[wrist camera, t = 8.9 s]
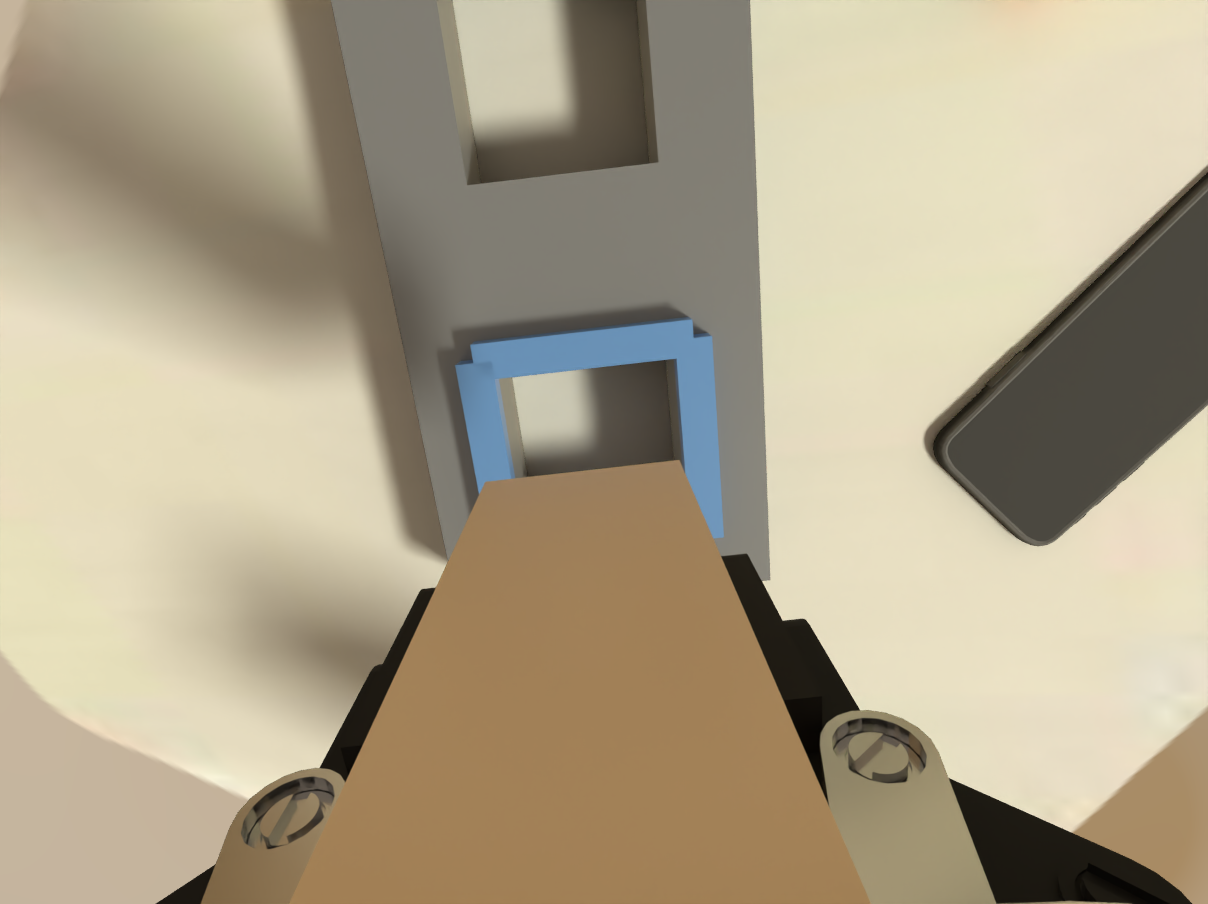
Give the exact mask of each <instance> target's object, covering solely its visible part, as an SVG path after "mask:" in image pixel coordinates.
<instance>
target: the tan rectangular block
mask: <svg viewBox="0 0 1208 904" xmlns="http://www.w3.org/2000/svg"><path fill="white" fill-rule="evenodd" d="M289 904H871V903H870V900H869V898H868V896H867V893H866V891H865V889H864V886H863V884H862V882H861V880H860V877H859V875H858V873H857V870H856V868H855V866H854V863H853V861H852V859H851V856H850V854H849V852H848V849H847V847H846V845H845V842H844V840H843V838H842V836H841V833H840V831H839V829H838V826H837V824H836V822H835V819H834V817H833V815H832V812H831V810H830V808H829V805H828V803H827V801H826V798H825V796H824V794H823V791H822V789H821V787H820V785H819V782H818V780H817V778H816V775H815V773H814V771H813V768H812V766H811V764H810V761H809V759H808V757H807V754H806V752H805V750H804V747H803V745H802V743H801V741H800V738H799V736H798V734H797V731H796V729H795V727H794V724H793V722H792V720H791V717H790V715H789V713H788V710H787V708H786V706H785V703H784V701H783V699H782V697H781V694H780V692H779V690H778V687H777V685H776V683H775V680H774V678H773V676H772V673H771V671H770V669H769V666H768V664H767V662H766V659H765V657H764V655H763V653H762V650H761V648H760V646H759V643H758V641H757V639H756V636H755V634H754V632H753V629H752V627H751V625H750V622H749V620H748V618H747V615H746V613H745V611H744V608H743V606H742V604H741V602H740V599H739V597H738V595H737V592H736V590H735V588H734V585H733V583H732V581H731V578H730V576H729V574H728V571H727V569H726V567H725V564H724V562H723V560H722V558H721V555H720V553H719V551H718V548H717V546H716V544H715V541H714V539H713V537H712V534H711V532H710V530H709V527H708V525H707V523H706V520H705V518H704V516H703V514H702V511H701V509H700V507H699V504H698V502H697V500H696V497H695V495H694V493H693V490H692V488H691V486H690V483H689V481H688V479H687V476H686V474H685V472H684V470H683V467H682V465H681V463H680V460H674V461H665V462H656V463H647V464H638V465H629V466H621V467H612V468H603V469H594V470H585V471H576V472H567V473H559V474H550V475H541V476H532V477H523V478H514V479H506V480H497V481H488V482H485V483H484V485H483V488H482V490H481V492H480V494H479V496H478V498H477V501H476V503H475V505H474V507H473V509H472V511H471V513H470V516H469V518H468V520H467V522H466V524H465V526H464V528H463V531H462V533H461V535H460V537H459V539H458V541H457V544H456V546H455V548H454V550H453V552H452V554H451V556H450V559H449V561H448V563H447V565H446V567H445V569H444V571H443V574H442V576H441V578H440V580H439V582H438V584H437V587H436V589H435V591H434V593H433V595H432V597H431V599H430V602H429V604H428V606H427V608H426V610H425V612H424V614H423V617H422V619H421V621H420V623H419V625H418V627H417V630H416V632H415V634H414V636H413V638H412V640H411V642H410V645H409V647H408V649H407V651H406V653H405V655H404V657H403V660H402V662H401V664H400V666H399V668H398V670H397V673H396V675H395V677H394V679H393V681H392V683H391V685H390V688H389V690H388V692H387V694H386V696H385V698H384V701H383V703H382V705H381V707H380V709H379V711H378V713H377V716H376V718H375V720H374V722H373V724H372V726H371V728H370V731H369V733H368V735H367V737H366V739H365V741H364V744H363V746H362V748H361V750H360V752H359V754H358V756H357V759H356V761H355V763H354V765H353V767H352V769H351V771H350V774H349V776H348V778H347V780H346V782H345V784H344V787H343V789H342V791H341V793H340V795H339V797H338V799H337V802H336V804H335V806H334V808H333V810H332V812H331V814H330V817H329V819H328V821H327V823H326V825H325V827H324V830H323V832H322V834H321V836H320V838H319V840H318V842H317V845H316V847H315V849H314V851H313V853H312V855H311V857H310V860H309V862H308V864H307V866H306V868H305V870H304V873H303V875H302V877H301V879H300V881H299V883H298V885H297V888H296V890H295V892H294V894H293V896H292V898H291V901H290V903H289Z"/></svg>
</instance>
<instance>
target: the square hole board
mask: <svg viewBox="0 0 1208 904" xmlns="http://www.w3.org/2000/svg"><path fill="white" fill-rule="evenodd" d="M331 3H332V8H333V13H334V18H335V22H336V27H337V32H338V37H339V42H340V46H341V51H342V56H343V61H344V65H345V70H346V75H347V80H348V85H349V89H350V94H351V99H352V104H353V109H354V113H355V118H356V123H357V128H358V133H359V137H360V142H361V147H362V152H363V157H364V161H365V166H366V171H367V176H368V181H369V185H370V190H371V195H372V200H373V205H374V209H375V214H376V219H377V224H378V228H379V233H380V238H381V243H382V248H383V252H384V257H385V262H386V267H387V272H388V276H389V281H390V286H391V291H392V296H393V300H394V305H395V310H396V315H397V320H398V324H399V329H400V334H401V339H402V344H403V348H404V353H405V358H406V363H407V367H408V372H409V377H410V382H411V387H412V391H413V396H414V401H415V406H416V411H417V415H418V420H419V425H420V430H421V435H422V439H423V444H424V449H425V454H426V459H427V463H428V468H429V473H430V478H431V483H432V487H433V492H434V497H435V502H436V507H437V511H438V516H439V521H440V526H441V530H442V535H443V540H444V545H445V550H446V554H447V559H448V561H449V559H450V556H451V554H452V552H453V550H454V548H455V546H456V544H457V541H458V539H459V537H460V535H461V533H462V531H463V528H464V526H465V524H466V522H467V520H468V518H469V516H470V513H471V511H472V509H473V507H474V505H475V503H476V501H477V498H478V496H479V494H480V492H481V490H482V488H483V485H484V483H485V482H488V481H497V480H506V479H514V478H523V477H528V475H527V469H526V463H525V456H524V450H523V444H522V437H521V431H520V425H519V418H518V412H517V406H516V399H515V393H514V387H513V380H512V377H519V376H528V375H537V374H545V373H554V372H563V371H572V370H580V369H589V368H598V367H607V366H615V365H624V364H633V363H642V362H651V361H659V360H666V371H667V383H668V396H669V408H670V420H671V432H672V444H673V456H674V460H680V463H681V465H682V467H683V470H684V472H685V474H686V476H687V479H688V481H689V483H690V486H691V488H692V490H693V493H694V495H695V497H696V500H697V502H698V504H699V507H700V509H701V511H702V514H703V516H704V518H705V520H706V523H707V525H708V527H709V530H710V532H711V534H712V537H713V539H714V541H715V544H716V546H717V548H718V551H719V553H720V555H721V556H727V555H737V554H746V553H747V554H748V556H749V558H750V560H751V562H752V563H753V565H754V567H755V569H756V571H757V573H758V575H759V577H760V579H761V581H767V580H770V559H769V530H768V502H767V473H766V445H765V416H764V387H763V359H762V330H761V302H760V273H759V244H758V216H757V187H756V159H755V130H754V101H753V73H752V44H751V16H750V0H636V6H637V18H638V31H639V43H640V55H641V67H642V79H643V91H644V104H645V116H646V128H647V140H648V152H649V164H641V165H632V166H624V167H616V168H607V169H599V170H591V171H582V172H574V173H566V174H557V175H549V176H541V177H532V178H524V179H516V180H507V181H499V182H491V183H482V184H481V178H480V172H479V166H478V159H477V153H476V147H475V140H474V134H473V128H472V121H471V115H470V109H469V103H468V96H467V90H466V84H465V77H464V71H463V65H462V58H461V52H460V46H459V39H458V33H457V27H456V20H455V14H454V8H453V1H452V0H331Z"/></svg>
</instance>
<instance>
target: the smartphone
mask: <svg viewBox="0 0 1208 904" xmlns="http://www.w3.org/2000/svg"><path fill="white" fill-rule="evenodd" d="M1207 405H1208V173H1207V174H1206V175H1205V176H1204V177H1203V178H1201V179H1200V180H1199V181H1198V182H1197V183H1196V184H1195V185H1194V186H1193V187H1192V188H1191V189H1190V190H1189V191H1188V192H1187V193H1186V194H1185V195H1184V196H1183V197H1182V198H1181V199H1180V200H1179V201H1178V202H1177V203H1176V204H1174V205H1173V206H1172V207H1171V208H1170V209H1169V210H1168V211H1167V212H1166V213H1165V214H1164V215H1163V216H1162V217H1161V218H1160V219H1159V220H1158V221H1157V222H1156V223H1155V224H1154V225H1153V226H1152V227H1151V228H1150V229H1149V230H1147V231H1146V232H1145V233H1144V234H1143V235H1142V236H1141V237H1140V238H1139V239H1138V240H1137V241H1136V242H1135V243H1134V244H1133V245H1132V246H1131V247H1130V248H1129V249H1128V250H1127V251H1126V252H1125V253H1124V254H1123V255H1122V256H1120V257H1119V258H1118V259H1117V260H1116V261H1115V262H1114V263H1113V264H1112V265H1111V266H1110V267H1109V268H1108V269H1107V270H1106V271H1105V272H1104V273H1103V274H1102V275H1101V276H1100V277H1099V278H1098V279H1097V280H1096V281H1094V282H1093V283H1092V284H1091V285H1090V286H1089V287H1088V288H1087V289H1086V290H1085V291H1084V292H1083V293H1082V294H1081V295H1080V296H1079V297H1078V298H1077V299H1076V300H1075V301H1074V302H1073V303H1072V304H1071V305H1070V306H1069V307H1067V308H1066V309H1065V310H1064V311H1063V312H1062V313H1061V314H1060V315H1059V316H1058V317H1057V318H1056V319H1055V320H1054V321H1053V322H1052V323H1051V324H1050V325H1049V326H1048V327H1047V328H1046V329H1045V330H1044V331H1043V332H1042V333H1040V334H1039V335H1038V336H1037V337H1036V338H1035V339H1034V340H1033V341H1032V342H1031V343H1030V344H1029V345H1028V346H1027V347H1026V348H1025V349H1024V350H1023V351H1022V352H1019V353H1018V354H1017V355H1016V356H1015V357H1014V358H1013V359H1011V360H1010V361H1009V362H1008V363H1007V364H1006V365H1005V366H1004V367H1003V368H1002V369H1001V370H1000V371H999V372H998V373H997V374H996V375H995V376H994V377H993V378H992V379H991V380H990V381H989V382H988V383H987V384H986V387H985V388H984V389H983V390H982V391H981V392H980V393H979V394H978V395H977V396H976V397H975V398H974V399H973V400H972V401H971V402H970V403H969V404H968V405H967V406H966V407H965V408H963V409H962V410H961V411H960V412H959V413H958V414H957V415H956V416H955V417H954V418H953V419H952V420H951V421H950V422H949V423H948V424H947V425H946V426H945V427H944V428H943V429H942V430H941V431H940V433H939V434H938V435H937V437H936V439H935V441H934V453H935V456H936V459H937V461H938V462H939V463H940V465H941V466H942V467H943V468H944V469H945V470H946V471H947V472H948V473H949V474H950V475H951V476H952V477H953V478H955V479H956V480H957V481H958V482H959V483H960V484H961V485H962V486H963V487H964V488H965V489H966V490H967V491H968V492H969V493H970V494H971V495H972V496H973V497H975V498H976V499H977V500H978V501H979V502H980V503H981V504H982V505H983V506H984V507H985V508H986V509H987V510H988V511H989V512H990V513H991V514H992V515H993V516H994V517H996V518H997V519H998V520H999V521H1000V522H1001V523H1002V524H1003V525H1004V526H1005V527H1006V528H1007V529H1008V530H1009V531H1010V532H1011V533H1012V534H1013V535H1014V536H1015V537H1016V538H1018V539H1019V540H1021V541H1022V542H1025V543H1027V544H1030V545H1034V546H1043V545H1048V544H1050V543H1052V542H1054V541H1055V540H1057V539H1058V538H1059V537H1060V536H1061V535H1063V534H1064V533H1065V532H1066V531H1067V530H1068V529H1069V528H1070V527H1072V526H1073V525H1074V524H1076V523H1077V522H1078V521H1079V520H1080V519H1082V518H1083V517H1084V516H1085V515H1086V513H1087V512H1088V511H1089V510H1091V509H1092V508H1093V507H1094V506H1095V505H1097V504H1098V503H1100V502H1101V501H1102V500H1103V499H1104V498H1105V497H1106V496H1107V495H1109V494H1110V493H1111V492H1112V491H1113V490H1114V489H1115V488H1116V486H1118V485H1119V484H1120V483H1121V482H1122V481H1124V480H1125V479H1127V478H1128V477H1129V476H1130V475H1131V474H1132V473H1133V472H1134V471H1136V470H1137V469H1138V468H1139V467H1140V466H1141V465H1142V464H1143V463H1144V462H1145V461H1146V460H1147V459H1148V458H1149V457H1150V456H1151V455H1152V454H1154V453H1155V452H1156V451H1157V450H1158V449H1159V448H1160V447H1161V446H1162V445H1164V444H1165V443H1166V442H1167V441H1168V440H1169V439H1170V438H1171V437H1173V436H1174V435H1175V434H1176V433H1177V432H1178V431H1179V430H1180V429H1182V428H1183V427H1184V426H1185V425H1186V424H1187V423H1188V422H1189V421H1190V420H1192V419H1193V418H1194V417H1195V416H1196V415H1197V414H1198V413H1199V412H1201V411H1202V410H1203V409H1204V408H1205V407H1206V406H1207Z"/></svg>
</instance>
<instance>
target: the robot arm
mask: <svg viewBox="0 0 1208 904" xmlns="http://www.w3.org/2000/svg"><path fill="white" fill-rule="evenodd" d="M721 558H722V560H723V562H724V564H725V567H726V569H727V571H728V574H729V576H730V578H731V581H732V583H733V585H734V588H735V590H736V592H737V595H738V597H739V599H740V602H741V604H742V606H743V608H744V611H745V613H746V615H747V618H748V620H749V622H750V625H751V627H752V629H753V632H754V634H755V636H756V639H757V641H758V643H759V646H760V648H761V650H762V653H763V655H764V657H765V659H766V662H767V664H768V666H769V669H770V671H771V673H772V676H773V678H774V680H775V683H776V685H777V687H778V690H779V692H780V694H781V697H782V699H783V701H784V703H785V706H786V708H787V710H788V713H789V715H790V717H791V720H792V722H793V724H794V727H795V729H796V731H797V734H798V736H799V738H800V741H801V743H802V745H803V747H804V750H805V752H806V754H807V757H808V759H809V761H810V764H811V766H812V768H813V771H814V773H815V775H816V778H817V780H818V782H819V785H820V787H821V789H822V791H823V794H824V796H825V798H826V801H827V803H828V805H829V808H830V810H831V812H832V815H833V817H834V819H835V822H836V824H837V826H838V829H839V831H840V833H841V836H842V838H843V840H844V842H845V845H846V847H847V849H848V852H849V854H850V856H851V859H852V861H853V863H854V866H855V868H856V870H857V873H858V875H859V877H860V880H861V882H862V884H863V886H864V889H865V891H866V893H867V896H868V898H869V900H870V903H871V904H1192V903H1191V902H1190V901H1189V900H1188V899H1187V898H1186V897H1185V896H1184V895H1183V893H1182V892H1181V891H1180V890H1178V889H1177V888H1176V887H1174V886H1173V885H1172V884H1170V883H1169V882H1168V881H1166V880H1165V879H1164V878H1163V877H1161V876H1160V875H1159V874H1157V873H1156V872H1154V871H1152V870H1150V869H1148V868H1146V867H1145V866H1143V865H1141V864H1139V863H1137V862H1135V861H1133V860H1132V859H1129V858H1127V857H1125V856H1123V855H1120V854H1118V853H1116V852H1114V851H1111V850H1109V849H1107V848H1105V847H1102V846H1100V845H1098V844H1096V843H1093V842H1091V841H1089V840H1087V839H1084V838H1082V837H1080V836H1078V835H1075V834H1073V833H1071V832H1069V831H1066V830H1064V829H1062V828H1060V827H1057V826H1055V825H1053V824H1051V823H1048V822H1046V821H1044V820H1042V819H1039V818H1037V817H1035V816H1033V815H1030V814H1028V813H1026V812H1024V811H1022V810H1019V809H1017V808H1015V807H1013V806H1010V805H1008V804H1006V803H1004V802H1001V801H999V800H997V799H995V798H992V797H990V796H988V795H986V794H983V793H981V792H979V791H977V790H974V789H972V788H970V787H968V786H965V785H963V784H961V783H959V782H956V781H954V780H952V779H950V778H948V775H947V773H946V770H945V768H944V765H943V762H942V760H941V757H940V754H939V752H938V750H937V749H936V747H935V745H934V744H933V742H932V740H931V739H930V738H929V737H928V736H927V735H926V734H925V733H924V732H923V731H921V730H920V729H919V728H918V727H916V726H915V725H913V724H911V723H909V722H908V721H906V720H904V719H902V718H900V717H897V716H894V715H891V714H888V713H884V712H878V711H871V710H861V711H860V709H859V708H858V706H857V704H856V703H855V701H854V699H853V698H852V696H851V694H850V692H849V691H848V689H847V687H846V686H845V684H844V682H843V681H842V679H841V677H840V676H839V674H838V672H837V670H836V669H835V667H834V665H833V664H832V662H831V660H830V659H829V657H828V655H827V654H826V652H825V650H824V648H823V647H822V645H821V643H820V642H819V640H818V638H817V637H816V635H815V633H814V632H813V630H812V628H811V626H810V625H809V623H808V622H807V621H806V620H805V619H795V620H786V621H782V619H781V617H780V615H779V613H778V611H777V609H776V607H775V605H774V604H773V602H772V600H771V598H770V596H769V594H768V592H767V590H766V588H765V586H764V584H763V583H762V581H761V579H760V577H759V575H758V573H757V571H756V569H755V567H754V565H753V563H752V562H751V560H750V558H749V556H748V554H747V553H746V554H737V555H727V556H721ZM435 589H436V588H428V589H421V591H420V592H419V594H418V596H417V598H416V600H415V602H414V604H413V606H412V608H411V610H410V612H409V614H408V616H407V618H406V620H405V622H404V624H403V626H402V627H401V629H400V631H399V633H398V635H397V637H396V639H395V641H394V643H393V645H392V647H391V649H390V651H389V653H388V655H387V657H386V659H385V661H384V663H383V664H381V665H377V666H375V667H374V668H373V669H372V671H371V672H370V674H369V676H368V677H367V679H366V681H365V683H364V685H363V687H362V689H361V691H360V693H359V694H358V696H357V698H356V700H355V702H354V704H353V706H352V708H351V710H350V711H349V713H348V715H347V717H346V719H345V721H344V723H343V725H342V727H341V729H340V730H339V732H338V734H337V736H336V738H335V740H334V742H333V744H332V746H331V747H330V749H329V751H328V753H327V755H326V757H325V759H324V761H323V763H322V764H321V766H320V768H313V769H307V770H300V771H298V772H295V773H292V774H289V775H286V776H284V777H282V778H280V779H278V780H276V781H274V782H273V783H271V784H269V785H267V786H266V787H264V788H263V789H262V790H261V791H259V792H258V793H257V794H255V795H254V796H253V797H252V798H250V799H249V801H248V802H247V803H246V804H245V805H244V806H243V807H242V808H241V809H240V811H239V812H238V814H237V815H236V817H235V819H234V820H233V822H232V824H231V826H230V828H229V830H228V833H227V836H226V839H225V841H224V844H223V846H222V849H221V852H220V854H219V857H218V860H217V862H216V864H215V865H214V866H212V867H211V868H209V869H208V870H206V871H205V872H203V873H202V874H200V875H199V876H197V877H196V878H194V879H193V880H191V881H190V882H188V883H187V884H185V885H184V886H182V887H180V888H179V889H177V890H176V891H174V892H173V893H171V894H170V895H168V896H167V897H165V898H164V899H163V900H161V901H159V902H158V903H156V904H289V903H290V901H291V898H292V896H293V894H294V892H295V890H296V888H297V885H298V883H299V881H300V879H301V877H302V875H303V873H304V870H305V868H306V866H307V864H308V862H309V860H310V857H311V855H312V853H313V851H314V849H315V847H316V845H317V842H318V840H319V838H320V836H321V834H322V832H323V830H324V827H325V825H326V823H327V821H328V819H329V817H330V814H331V812H332V810H333V808H334V806H335V804H336V802H337V799H338V797H339V795H340V793H341V791H342V789H343V787H344V784H345V782H346V780H347V778H348V776H349V774H350V771H351V769H352V767H353V765H354V763H355V761H356V759H357V756H358V754H359V752H360V750H361V748H362V746H363V744H364V741H365V739H366V737H367V735H368V733H369V731H370V728H371V726H372V724H373V722H374V720H375V718H376V716H377V713H378V711H379V709H380V707H381V705H382V703H383V701H384V698H385V696H386V694H387V692H388V690H389V688H390V685H391V683H392V681H393V679H394V677H395V675H396V673H397V670H398V668H399V666H400V664H401V662H402V660H403V657H404V655H405V653H406V651H407V649H408V647H409V645H410V642H411V640H412V638H413V636H414V634H415V632H416V630H417V627H418V625H419V623H420V621H421V619H422V617H423V614H424V612H425V610H426V608H427V606H428V604H429V602H430V599H431V597H432V595H433V593H434V591H435Z"/></svg>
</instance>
